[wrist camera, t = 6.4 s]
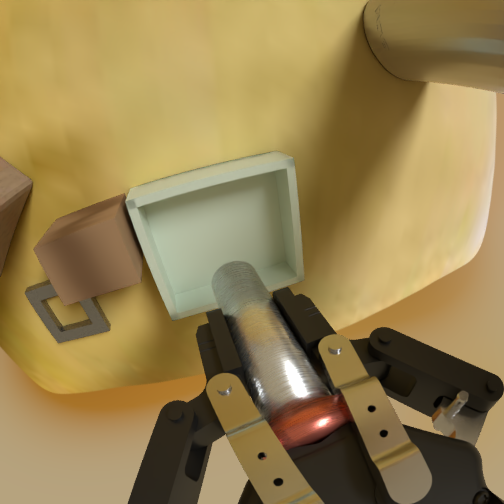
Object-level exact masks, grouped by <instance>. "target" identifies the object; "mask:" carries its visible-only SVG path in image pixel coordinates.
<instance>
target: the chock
mask: <svg viewBox="0 0 504 504" xmlns="http://www.w3.org/2000/svg"><path fill="white" fill-rule="evenodd" d="M125 201H126V196H125V193H124V194H121V195H118V196H116V197H113V198H110V199H107V200H104V201H102V202H99V203H96V204H94V205H91V206H88V207H86V208H83V209H81V210H78V211H75V212H73V213H70V214H68V215H66V216H63V217H61V218H58V219H56V220H55V222H54V223H53V224H52V225H51V227H50V228H49V229H48V230H47V232H46V233H45V234H44V236H43V237H42V238H41V240H40V241H39V242H38V244H37V245H36V246H35V248H34V249H33V250H34V252H35V254H36V256H37V258H38V260H39V262H40V264H41V265H42V267H43V269H44V271H45V273H46V275H47V277H48V278H49V280H50V282H51V284H52V286H53V287H54V289H55V291H56V292H57V294H58V296H59V298H60V299H61V301H62V302H63V304H64V306H66V305H69V304H72V303H75V302H79V301H82V300H85V299H88V298H92V297H95V296H98V295H102V294H105V293H108V292H111V291H115V290H118V289H121V288H125V287H128V286H131V285H134V284H138V283H141V276H142V263H143V250H142V248H141V245H140V242H139V240H138V237H137V234H136V231H135V229H134V226H133V223H132V220H131V217H130V214H129V211H128V208H127V206H126V203H125Z"/></svg>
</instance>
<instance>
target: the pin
mask: <svg viewBox="0 0 504 504" xmlns="http://www.w3.org/2000/svg"><path fill="white" fill-rule="evenodd" d="M211 286H212V290H213V293H214V296H215V299H216V302H217V305H218V308H221V309H222V312H223V315H224V318H225V321H226V323H227V326H228V329H229V332H230V334H231V337H232V340H233V343H234V345H235V348H236V351H237V353H238V356H239V359H240V361H241V364H242V367H243V370H244V373H245V383H246V385H247V388H248V391H249V393H250V396H251V398H252V401H253V403H254V405H255V406H256V408H257V410H258V411H259V413H260V415H261V416H262V418H264V419H265V420H266V421H267V423H268V424H269V426H270V427H271V429H272V430H273V432H274V434H275V435H276V437H277V438H278V440H279V441H280V443H281V444H282V446H283V447H284V449H285V451H286V450H288V449H291V448H295V447H301V446H307V445H313V444H318V443H320V442H322V441H323V440H325V439H326V438H327V437H329V436H330V435H331V434H332V433H334V432H335V431H336V430H337V429H339V428H340V427H342V426H344V425H346V424H348V423H350V418H349V416H348V414H347V412H346V410H345V407H344V405H343V403H342V401H341V399H340V397H339V395H331V393H330V392H329V390H328V388H327V387H326V385H325V383H324V382H323V380H322V379H321V377H320V375H319V374H318V372H317V370H316V369H315V367H314V365H313V364H312V362H311V361H310V359H309V357H308V356H307V354H306V352H305V351H304V349H303V348H302V346H301V344H300V343H299V341H298V339H297V338H296V336H295V334H294V333H293V331H292V329H291V328H290V326H289V325H288V323H287V321H286V320H285V318H284V316H283V315H282V313H281V311H280V310H279V308H278V306H277V305H276V303H275V301H274V300H273V298H272V296H271V295H270V293H269V291H268V290H267V288H266V286H265V285H264V283H263V282H262V280H261V278H260V277H259V275H258V273H257V272H256V270H255V268H254V267H253V266H252V265H251V264H249V263H247V262H244V261H232V262H228V263H226V264H224V265H222V266H221V267H220V268H219V269H218V270H217V271H216V272H215V274H214V275H213V278H212V282H211ZM265 459H266V457H263V460H265Z"/></svg>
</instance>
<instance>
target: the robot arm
mask: <svg viewBox="0 0 504 504" xmlns="http://www.w3.org/2000/svg"><path fill="white" fill-rule="evenodd" d="M363 20H364V29H365V33H366V37H367V40H368V42H369V45H370V47H371V49H372V51H373V53H374V54H375V56H376V58H377V59H378V60H379V62H380V63H381V64H382V65H383V66H384V67H385V68H386V69H387V70H388V71H389V72H390V73H391V74H393V75H395V76H396V77H398V78H400V79H403V80H410V81H423V82H434V83H442V84H451V85H458V86H465V87H472V88H477V89H483V90H488V91H493V92H498V93H502V94H504V0H370V1H369V2H368V3H367V5H366V8H365V11H364V19H363ZM273 300H274V301H275V303H276V305H277V306H278V308H279V310H280V311H281V313H282V315H283V316H284V318H285V320H286V321H287V323H288V325H289V326H290V328H291V329H292V331H293V333H294V334H295V336H296V338H297V339H298V341H299V343H300V344H301V346H302V348H303V349H304V351H305V352H306V354H307V356H308V357H309V359H310V361H311V362H312V364H313V365H314V367H315V369H316V370H317V372H318V374H319V375H320V377H321V379H322V380H323V382H324V383H325V385H326V387H327V388H328V390H329V392H330V393H331V395H339V397H340V399H341V401H342V403H343V405H344V407H345V410H346V412H347V414H348V416H349V418H350V423H348V424H346V425H344V426H342V427H340V428H339V429H337V430H336V431H335V432H334V433H332V434H331V435H330V436H329V437H327V438H326V439H325V440H323V441H322V442H320V443H318V444H313V445H307V446H301V447H295V448H291V449H288V450H286V451H285V449H284V447H283V446H282V444H281V443H280V441H279V440H278V438H277V437H276V435H275V434H274V432H273V430H272V429H271V427H270V426H269V424H268V423H267V421H266V420H265V419H264V418H262V416H261V415H260V413H259V411H258V410H257V408H256V406H255V405H254V403H253V401H252V400H251V398H250V393H249V391H248V388H247V385H246V383H245V373H244V370H243V367H242V364H241V361H240V359H239V356H238V353H237V351H236V348H235V345H234V343H233V340H232V337H231V334H230V332H229V329H228V326H227V323H226V321H225V318H224V315H223V312H222V309H221V308H219V309H215V310H212V311H209V312H206V314H207V317H208V321H209V323H207V324H204V325H201V326H198V330H197V333H196V338H197V342H198V346H199V350H200V355H201V359H202V363H203V367H204V371H205V375H206V379H207V383H206V387H205V389H204V391H203V392H202V393H201V394H200V395H199V396H198V397H196V398H194V399H193V400H191V401H189V402H187V403H186V402H184V401H179V400H177V401H172V402H169V403H167V404H166V405H165V406H164V407H163V408H162V409H161V411H160V414H159V416H158V419H157V422H156V424H155V427H154V430H153V433H152V435H151V438H150V441H149V444H148V446H147V450H146V452H145V455H144V458H143V460H142V463H141V466H140V469H139V472H138V475H137V478H136V480H135V483H134V486H133V489H132V492H131V495H130V498H129V501H128V504H197V502H198V498H199V494H200V491H201V486H202V483H203V479H204V475H205V471H206V467H207V463H208V459H209V455H210V451H211V447H212V443H213V442H214V441H216V440H217V439H219V438H221V437H222V436H224V435H225V434H226V436H227V438H228V440H229V442H230V444H231V446H232V448H233V450H234V452H235V454H236V456H237V458H238V460H239V461H240V463H241V465H242V467H243V469H244V471H245V472H246V474H247V476H248V478H249V480H248V481H247V483H246V485H245V488H244V490H243V493H242V495H241V497H240V500H239V502H238V504H504V501H503V500H502V499H500V498H499V497H498V496H496V495H495V494H493V493H492V492H491V491H490V490H489V489H488V488H487V486H486V483H485V480H484V476H483V471H482V459H481V456H480V453H479V451H478V450H477V448H476V447H475V444H476V442H477V440H478V437H479V435H480V432H481V429H482V426H483V424H484V421H485V418H486V416H487V413H488V411H489V410H490V409H491V408H492V407H493V406H494V405H495V403H496V402H497V401H498V400H499V399H500V398H501V397H502V395H503V392H504V386H503V382H502V381H501V379H500V378H499V377H498V376H497V375H495V374H492V373H490V372H488V371H485V370H483V369H481V368H479V367H476V366H474V365H472V364H469V363H467V362H465V361H463V360H460V359H458V358H455V357H453V356H451V355H449V354H446V353H444V352H442V351H440V350H438V349H435V348H433V347H431V346H429V345H426V344H424V343H422V342H420V341H417V340H415V339H413V338H411V337H409V336H406V335H404V334H402V333H400V332H397V331H395V330H393V329H390V328H387V327H381V328H377V329H375V330H374V331H373V332H372V333H371V334H370V337H369V338H364V339H358V340H348V339H347V338H346V337H344V336H342V335H338V334H337V333H336V332H335V331H334V330H333V328H332V327H331V326H330V324H329V323H328V322H327V320H326V319H325V318H324V317H323V315H322V314H321V313H320V311H319V310H318V309H317V307H315V305H314V303H313V302H312V301H311V300H310V298H308V297H306V296H304V295H303V294H299V295H296V296H294V294H293V293H292V292H291V290H290V289H289V288H288V287H286V288H283V289H280V290H277V291H274V292H273ZM387 396H389V397H391V398H393V399H395V400H397V401H399V402H401V403H403V404H405V405H407V406H409V407H411V408H413V409H415V410H417V411H419V412H421V413H423V414H425V415H427V416H429V417H432V422H433V425H434V429H436V430H438V431H439V430H440V431H441V432H442V433H443V435H444V436H443V435H439V434H435V433H431V432H428V431H424V430H420V429H417V428H414V427H410V426H407V425H403V424H402V423H401V421H400V419H399V418H398V416H397V414H396V412H395V410H394V408H393V406H392V404H391V403H390V400H389V399H388V397H387ZM263 457H266V459H265V460H263Z"/></svg>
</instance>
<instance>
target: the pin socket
mask: <svg viewBox="0 0 504 504" xmlns="http://www.w3.org/2000/svg"><path fill="white" fill-rule="evenodd" d="M25 295H26V296H27V298H28V300H29V301H30V303H31V304H32V306H33V308H34V309H35V311H36V312H37V314H38V315H39V317H40V318H41V320H42V321H43V323H44V324H45V326H46V327H47V328H48V330H49V331H50V333H51V334H52V335H53V337H54V338H55V339H56V341H57V342H58V343H61V342H65V341H69V340H74V339H78V338H82V337H86V336H90V335H94V334H98V333H102V332H106V331H110V326H111V324H110V323H109V321H108V319H107V318H106V316H105V314H104V313H103V311H102V309H101V307H100V306H99V304H98V302H97V300H96V299H95V297H92V298H88V299H85V300H82V301H79V302H80V304H81V305H82V307H83V309H84V310H85V312H86V314H87V315H88V317H89V320H85V321H81V322H78V323H74V324H70V325H66V326H62V325H61V323H60V322H59V320H58V319H57V317H56V316H55V314H54V313H53V311H52V310H51V308H50V306H49V305H48V303H47V302H46V300H45V299H47V298H50V297H54V296H57V295H58V294H57V292H56V291H55V289H54V287H53V286H52V284H51V282H50V280H48V281H45V282H42V283H39V284H36V285H34V286H31V287H28V288H27V289H26V291H25Z"/></svg>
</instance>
